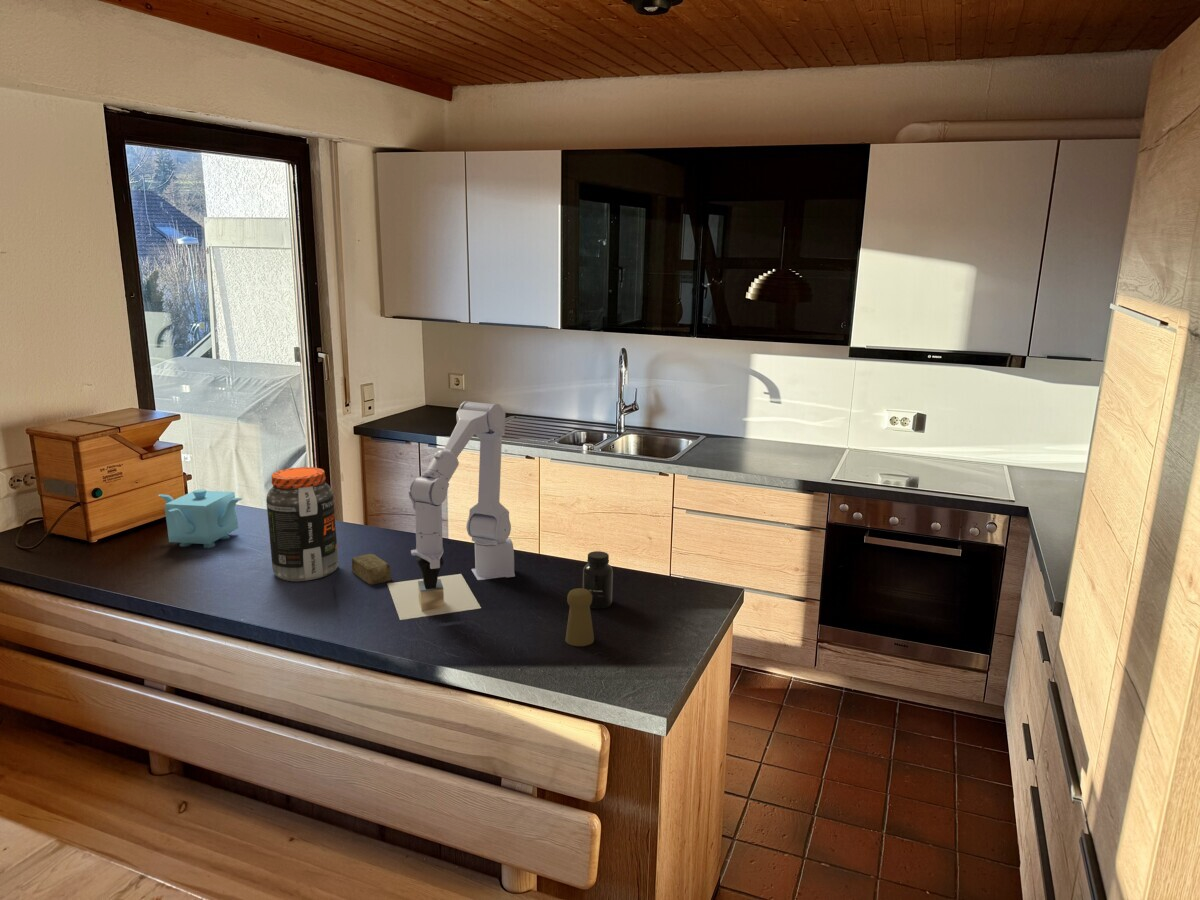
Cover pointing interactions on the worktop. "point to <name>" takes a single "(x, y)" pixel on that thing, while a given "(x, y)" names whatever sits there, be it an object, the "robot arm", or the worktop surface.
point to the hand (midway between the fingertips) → (430, 588)
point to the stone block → (371, 569)
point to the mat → (454, 597)
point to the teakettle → (201, 517)
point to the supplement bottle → (598, 579)
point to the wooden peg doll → (579, 618)
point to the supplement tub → (302, 524)
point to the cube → (431, 596)
